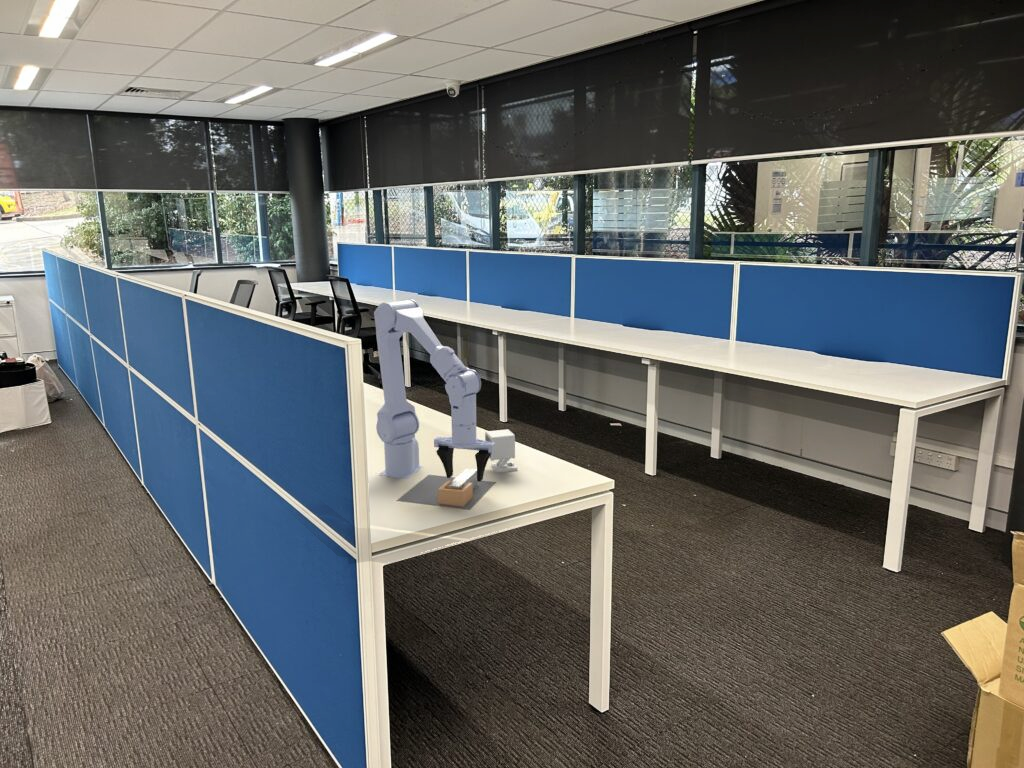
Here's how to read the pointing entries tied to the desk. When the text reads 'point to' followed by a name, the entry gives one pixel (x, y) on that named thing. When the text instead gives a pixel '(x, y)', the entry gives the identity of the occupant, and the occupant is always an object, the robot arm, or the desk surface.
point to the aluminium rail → (464, 479)
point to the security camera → (502, 449)
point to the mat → (429, 493)
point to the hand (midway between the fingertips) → (464, 478)
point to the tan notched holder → (455, 495)
